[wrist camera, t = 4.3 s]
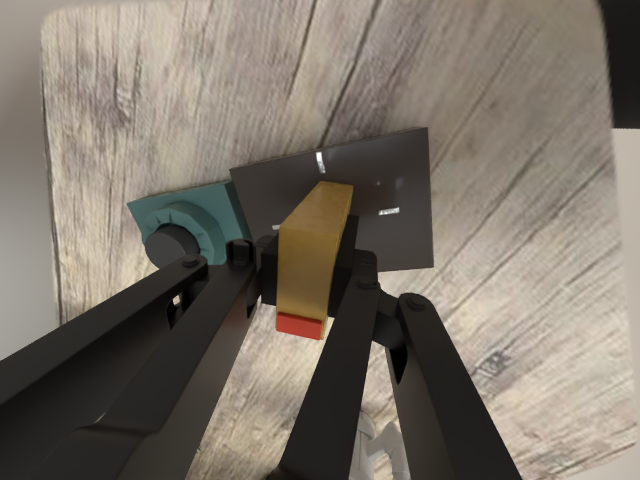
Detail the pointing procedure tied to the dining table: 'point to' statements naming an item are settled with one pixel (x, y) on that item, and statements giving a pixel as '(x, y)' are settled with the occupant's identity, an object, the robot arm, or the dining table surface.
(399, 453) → the mug
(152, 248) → the bell button
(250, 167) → the lock plate
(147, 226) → the push button box
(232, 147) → the dining table surface
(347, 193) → the lock knob
